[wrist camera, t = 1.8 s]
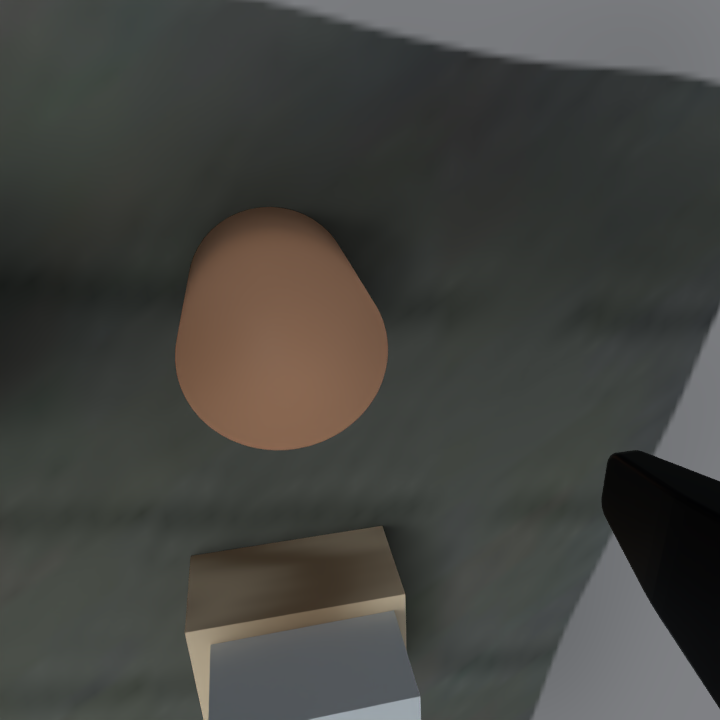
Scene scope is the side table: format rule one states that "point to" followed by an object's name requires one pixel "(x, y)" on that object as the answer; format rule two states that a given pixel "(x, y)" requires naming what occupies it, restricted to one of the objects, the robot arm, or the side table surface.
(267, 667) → the grey-blue top block
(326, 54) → the side table surface
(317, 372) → the terracotta rounded cylinder
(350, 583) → the oak base block
